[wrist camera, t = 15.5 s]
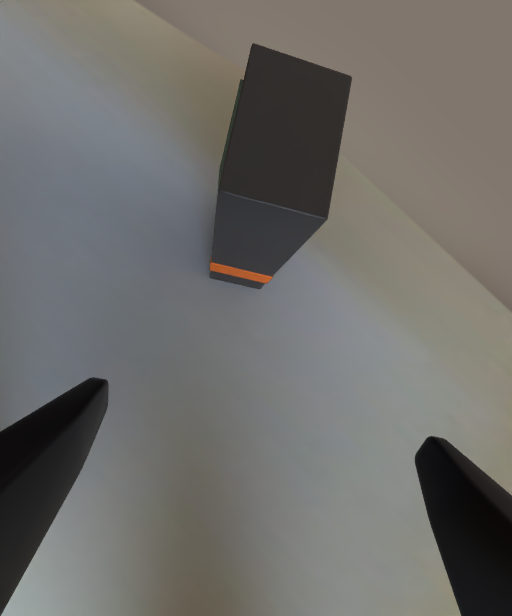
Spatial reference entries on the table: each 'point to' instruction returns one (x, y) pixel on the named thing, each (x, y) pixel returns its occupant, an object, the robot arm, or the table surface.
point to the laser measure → (276, 164)
